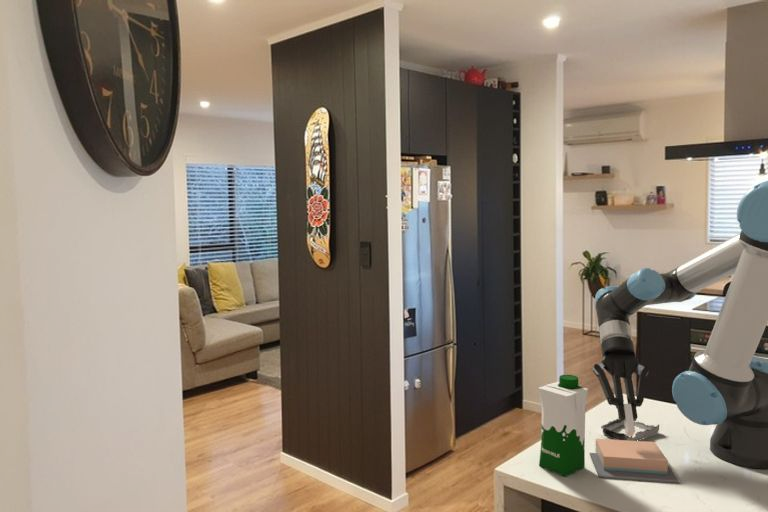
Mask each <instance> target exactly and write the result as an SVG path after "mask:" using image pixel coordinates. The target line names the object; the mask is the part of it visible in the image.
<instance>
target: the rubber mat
mask: <svg viewBox="0 0 768 512" xmlns="http://www.w3.org/2000/svg"><path fill="white" fill-rule="evenodd" d="M589 456H590V458H591V462H592V464H593V466H594V468H595V471H596V474H597V477H598V478H599V479H611V480H612V479H613V480H623V481H624V480H626V481H639V482H650V483H651V482H652V483H665V484H680V481H679V479H678V477H677V476H676V474H675V472H673V470H672V468H671V467H670V466H669V465H668V471H667V474H657V473H642V472H628V471H614V470H603V467H602V465H601V463H600V460H599V458H598V456H597V453H596V452H589Z"/></svg>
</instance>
